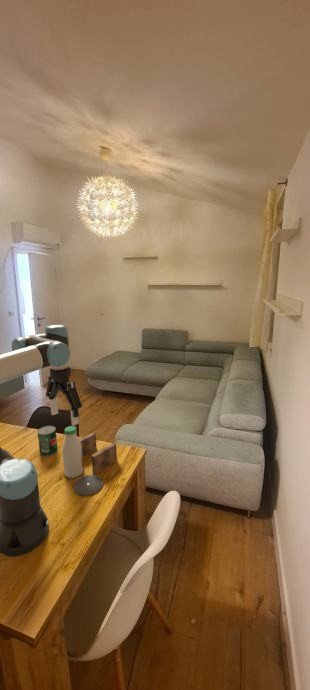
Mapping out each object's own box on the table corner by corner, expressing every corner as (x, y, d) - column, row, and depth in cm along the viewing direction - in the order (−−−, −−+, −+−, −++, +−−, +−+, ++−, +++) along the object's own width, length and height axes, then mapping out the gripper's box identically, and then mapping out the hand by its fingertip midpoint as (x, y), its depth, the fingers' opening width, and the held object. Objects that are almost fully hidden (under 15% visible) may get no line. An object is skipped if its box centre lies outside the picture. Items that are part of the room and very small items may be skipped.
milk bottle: (81, 478, 119) (77, 433, 114) (61, 478, 119) (57, 433, 114) (85, 466, 126) (82, 423, 121) (67, 466, 126) (63, 423, 122)
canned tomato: (39, 449, 139) (36, 427, 137) (56, 444, 143) (54, 424, 140) (40, 458, 132) (38, 435, 130) (58, 453, 136) (56, 431, 133)
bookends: (95, 474, 121) (94, 456, 119) (72, 459, 131) (71, 443, 129) (116, 460, 130) (116, 443, 128) (94, 447, 140) (93, 432, 138)
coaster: (85, 500, 107) (85, 498, 107) (68, 486, 114) (67, 485, 114) (108, 483, 115) (108, 482, 115) (90, 472, 122) (90, 471, 122)
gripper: (89, 370, 105) (93, 424, 110) (50, 358, 121) (55, 407, 126) (71, 376, 100) (76, 433, 105) (33, 363, 115) (38, 413, 120)
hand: (64, 419), depth 115 cm, fingers open, 13 cm apart
